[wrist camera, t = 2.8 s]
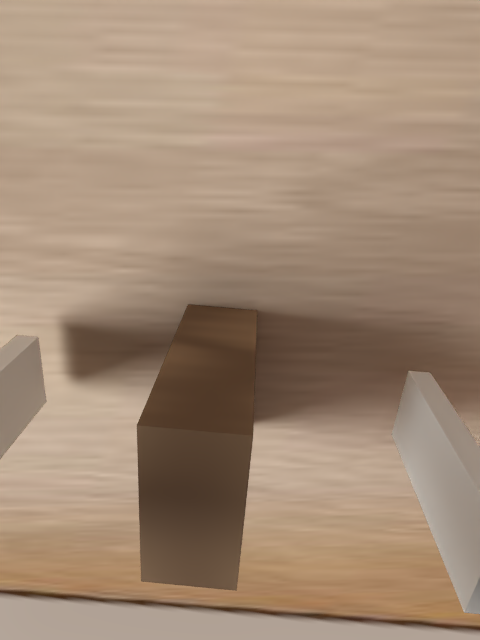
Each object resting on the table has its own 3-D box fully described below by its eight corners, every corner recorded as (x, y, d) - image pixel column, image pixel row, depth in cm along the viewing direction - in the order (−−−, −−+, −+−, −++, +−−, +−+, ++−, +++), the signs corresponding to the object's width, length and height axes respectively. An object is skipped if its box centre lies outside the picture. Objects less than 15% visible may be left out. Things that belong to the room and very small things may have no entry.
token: (185, 418, 18) (141, 581, 11) (188, 304, 16) (136, 425, 9) (246, 423, 18) (236, 590, 11) (257, 310, 16) (252, 436, 9)
